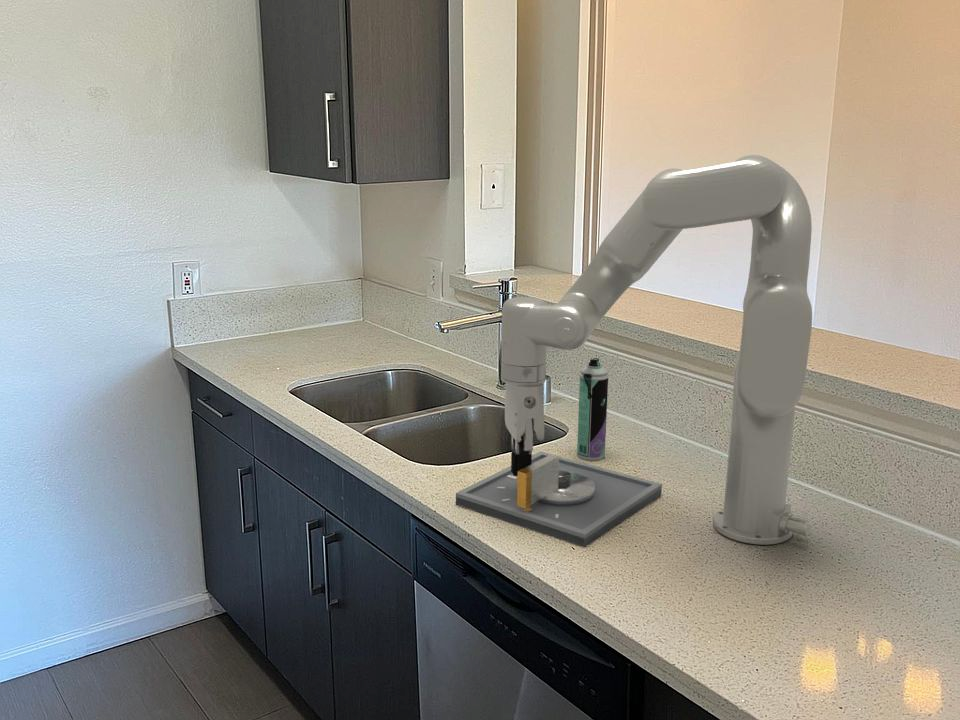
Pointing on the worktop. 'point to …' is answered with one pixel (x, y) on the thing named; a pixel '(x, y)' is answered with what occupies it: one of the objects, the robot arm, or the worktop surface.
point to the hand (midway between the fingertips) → (521, 473)
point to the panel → (568, 523)
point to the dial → (552, 485)
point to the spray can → (592, 411)
